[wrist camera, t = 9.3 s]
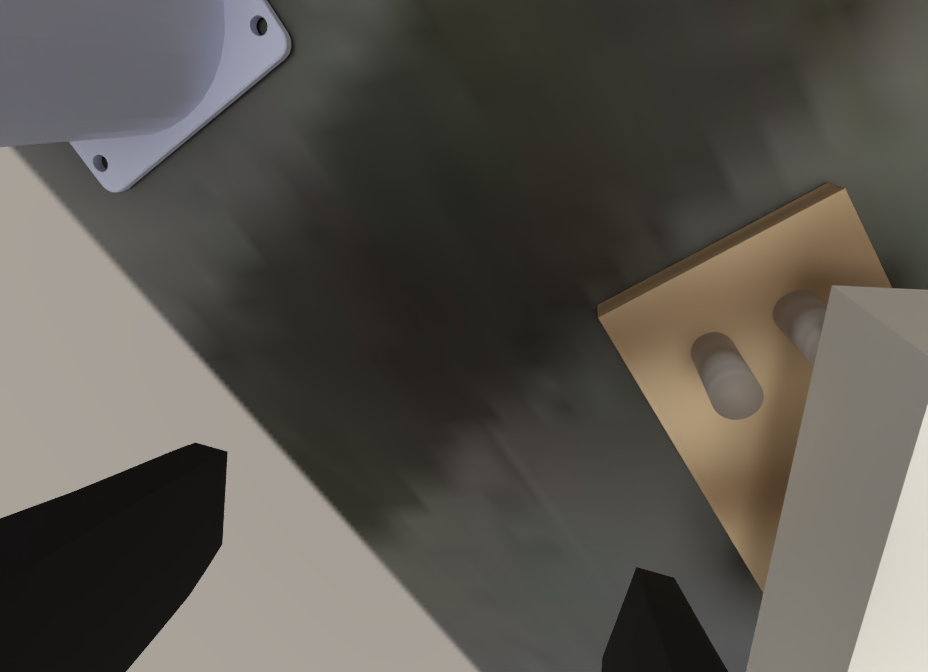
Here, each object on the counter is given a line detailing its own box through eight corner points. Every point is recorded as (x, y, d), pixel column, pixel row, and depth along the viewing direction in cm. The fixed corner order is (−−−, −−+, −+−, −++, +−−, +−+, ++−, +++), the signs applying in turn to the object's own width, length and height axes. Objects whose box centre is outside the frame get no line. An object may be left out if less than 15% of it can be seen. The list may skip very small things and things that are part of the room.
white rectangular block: (894, 705, 17) (992, 893, 13) (743, 683, 18) (791, 856, 14) (1035, 295, 13) (1243, 384, 9) (831, 285, 14) (939, 364, 10)
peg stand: (596, 305, 19) (601, 356, 15) (828, 182, 17) (901, 207, 13) (791, 631, 22) (836, 743, 18) (1010, 564, 20) (1115, 676, 16)
